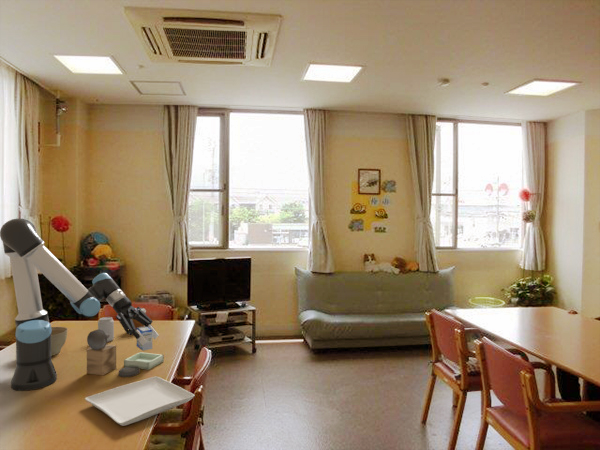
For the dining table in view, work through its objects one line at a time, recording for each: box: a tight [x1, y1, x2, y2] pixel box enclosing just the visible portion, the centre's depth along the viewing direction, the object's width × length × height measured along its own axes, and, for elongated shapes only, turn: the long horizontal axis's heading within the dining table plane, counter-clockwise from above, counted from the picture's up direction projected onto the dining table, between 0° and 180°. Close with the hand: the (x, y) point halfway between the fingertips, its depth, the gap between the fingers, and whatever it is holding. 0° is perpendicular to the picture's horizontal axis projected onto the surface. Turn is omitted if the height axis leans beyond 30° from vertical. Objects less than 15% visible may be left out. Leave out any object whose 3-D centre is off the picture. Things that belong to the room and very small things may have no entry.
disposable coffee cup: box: [132, 307, 147, 330], centre depth 237 cm, size 10×10×12 cm
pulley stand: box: [86, 328, 117, 376], centre depth 175 cm, size 8×8×18 cm
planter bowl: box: [51, 326, 69, 357], centre depth 196 cm, size 16×16×11 cm
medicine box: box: [136, 326, 153, 352], centre depth 184 cm, size 8×4×9 cm, turn 40°
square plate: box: [84, 376, 195, 427], centre depth 144 cm, size 27×27×4 cm
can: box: [97, 316, 115, 343], centre depth 217 cm, size 8×8×12 cm
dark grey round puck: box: [118, 367, 140, 378], centre depth 173 cm, size 8×8×2 cm
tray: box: [123, 351, 165, 371], centre depth 184 cm, size 11×13×3 cm
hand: (150, 340), depth 183 cm, fingers closed on medicine box, 8 cm apart
